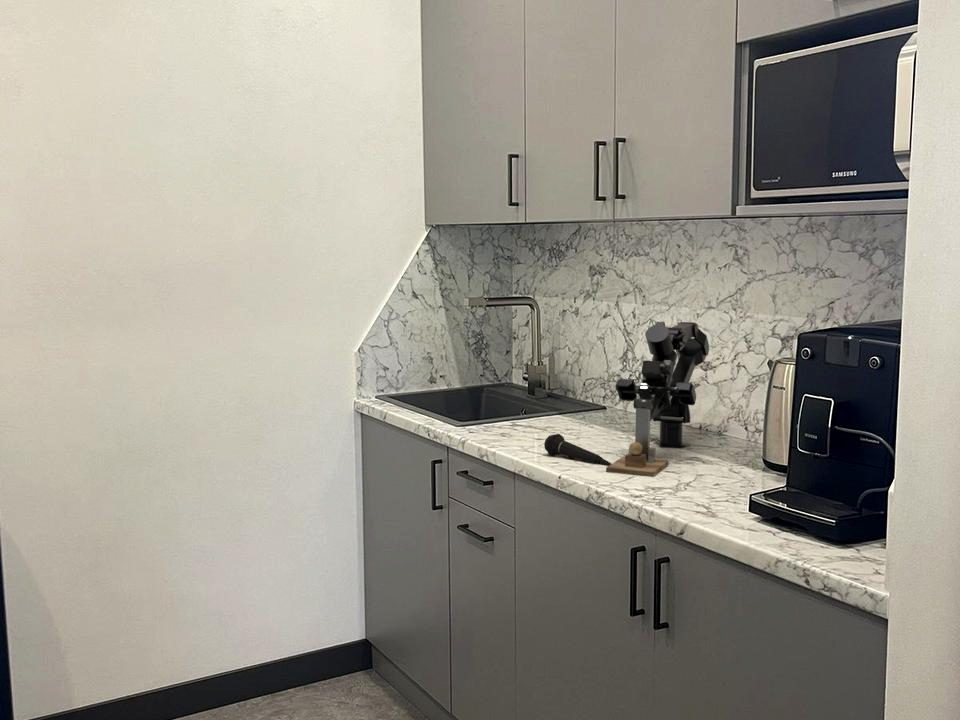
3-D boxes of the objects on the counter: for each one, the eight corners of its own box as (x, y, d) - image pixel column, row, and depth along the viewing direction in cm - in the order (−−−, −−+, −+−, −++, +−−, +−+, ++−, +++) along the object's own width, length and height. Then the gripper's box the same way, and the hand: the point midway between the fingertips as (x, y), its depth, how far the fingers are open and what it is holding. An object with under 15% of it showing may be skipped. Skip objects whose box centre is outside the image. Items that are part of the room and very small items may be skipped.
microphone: (613, 478, 229) (550, 454, 243) (621, 454, 229) (557, 432, 243) (601, 474, 225) (536, 451, 239) (608, 451, 225) (544, 429, 239)
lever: (635, 457, 230) (636, 397, 228) (652, 459, 228) (653, 398, 226) (632, 459, 228) (633, 399, 226) (649, 461, 226) (650, 400, 224)
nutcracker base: (623, 460, 233) (623, 433, 232) (668, 464, 228) (669, 437, 227) (606, 471, 221) (606, 443, 221) (653, 476, 217) (653, 448, 216)
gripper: (618, 346, 238) (603, 396, 229) (694, 349, 230) (681, 402, 221) (627, 374, 246) (613, 424, 237) (701, 378, 238) (689, 430, 229)
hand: (648, 419), depth 231 cm, fingers closed
